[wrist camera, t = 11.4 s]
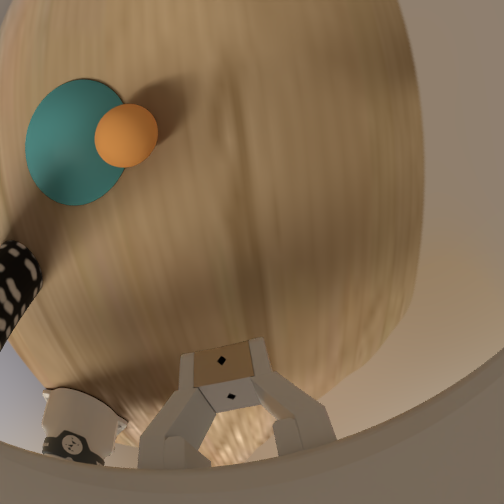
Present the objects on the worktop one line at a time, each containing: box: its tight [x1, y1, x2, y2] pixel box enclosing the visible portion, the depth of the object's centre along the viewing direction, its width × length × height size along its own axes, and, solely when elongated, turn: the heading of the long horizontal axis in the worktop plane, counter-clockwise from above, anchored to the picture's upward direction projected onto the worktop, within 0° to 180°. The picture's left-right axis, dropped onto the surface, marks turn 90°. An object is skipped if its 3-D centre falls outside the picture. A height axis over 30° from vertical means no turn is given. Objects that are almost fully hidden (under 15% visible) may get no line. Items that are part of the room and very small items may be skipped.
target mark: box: [25, 80, 124, 205], centre depth 21 cm, size 13×13×1 cm
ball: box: [95, 104, 158, 168], centre depth 20 cm, size 6×6×6 cm
